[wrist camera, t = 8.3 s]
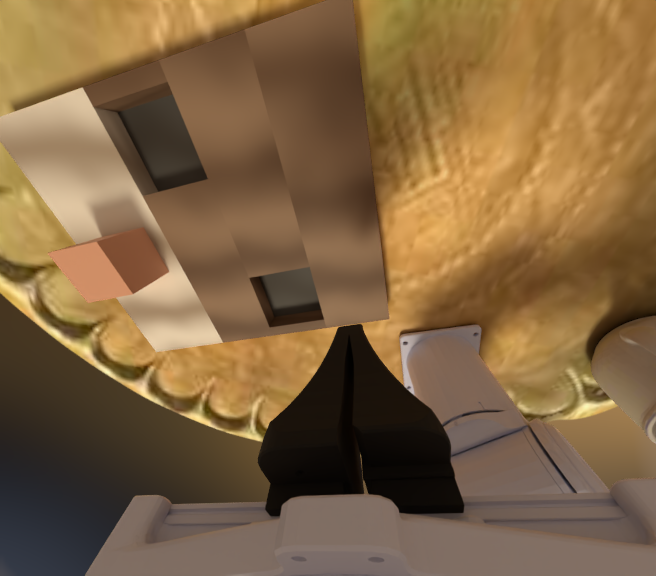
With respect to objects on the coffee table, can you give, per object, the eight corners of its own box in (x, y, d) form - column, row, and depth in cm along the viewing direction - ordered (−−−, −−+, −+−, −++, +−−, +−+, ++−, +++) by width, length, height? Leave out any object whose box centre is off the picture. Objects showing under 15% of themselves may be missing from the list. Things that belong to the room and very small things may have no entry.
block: (169, 271, 20) (133, 294, 17) (130, 279, 21) (87, 302, 17) (143, 227, 18) (96, 241, 15) (102, 236, 19) (47, 253, 16)
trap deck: (385, 307, 23) (389, 319, 21) (168, 339, 27) (156, 351, 25) (350, 13, 14) (351, -9, 12) (22, 126, 17) (-15, 122, 16)
